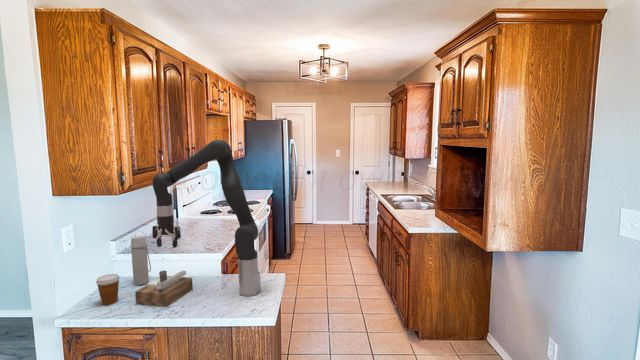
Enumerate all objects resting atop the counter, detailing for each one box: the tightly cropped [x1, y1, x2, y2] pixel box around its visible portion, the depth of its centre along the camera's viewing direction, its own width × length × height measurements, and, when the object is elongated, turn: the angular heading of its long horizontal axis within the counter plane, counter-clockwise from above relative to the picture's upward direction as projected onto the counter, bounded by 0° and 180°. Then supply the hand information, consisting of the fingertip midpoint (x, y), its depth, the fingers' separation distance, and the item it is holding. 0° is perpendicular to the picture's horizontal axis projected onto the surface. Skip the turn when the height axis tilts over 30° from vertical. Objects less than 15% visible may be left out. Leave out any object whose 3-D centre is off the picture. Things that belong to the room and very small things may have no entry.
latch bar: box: [157, 270, 187, 289], centre depth 170 cm, size 2×19×2 cm, turn 166°
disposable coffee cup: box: [95, 273, 120, 306], centre depth 167 cm, size 10×10×12 cm
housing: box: [134, 275, 194, 308], centre depth 172 cm, size 16×20×8 cm
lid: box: [146, 270, 179, 289], centre depth 172 cm, size 10×10×6 cm
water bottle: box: [130, 234, 152, 286], centre depth 190 cm, size 9×8×25 cm
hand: (167, 247), depth 176 cm, fingers open, 8 cm apart
